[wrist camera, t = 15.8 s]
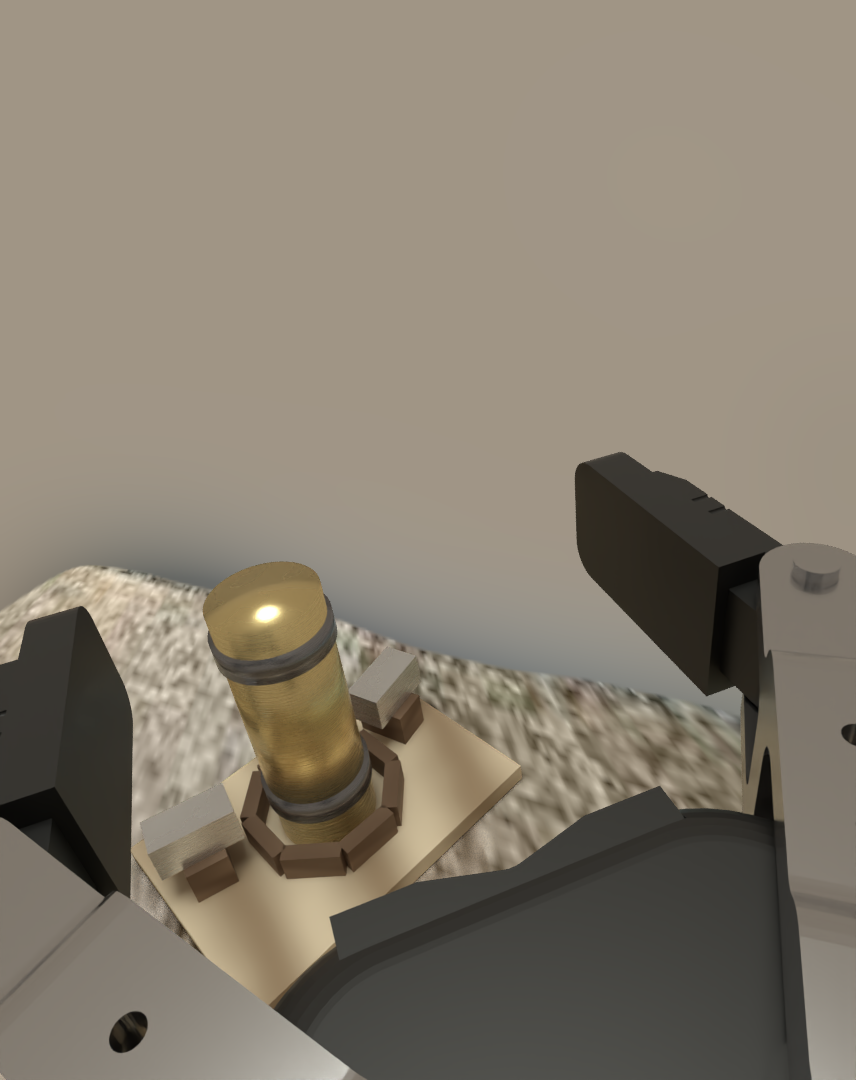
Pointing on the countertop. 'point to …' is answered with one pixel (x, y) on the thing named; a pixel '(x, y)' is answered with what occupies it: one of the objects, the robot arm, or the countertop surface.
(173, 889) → the coupling base
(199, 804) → the pair of grey blocks
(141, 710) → the countertop surface
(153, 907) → the countertop surface
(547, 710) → the countertop surface
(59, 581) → the countertop surface
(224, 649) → the cylinder
